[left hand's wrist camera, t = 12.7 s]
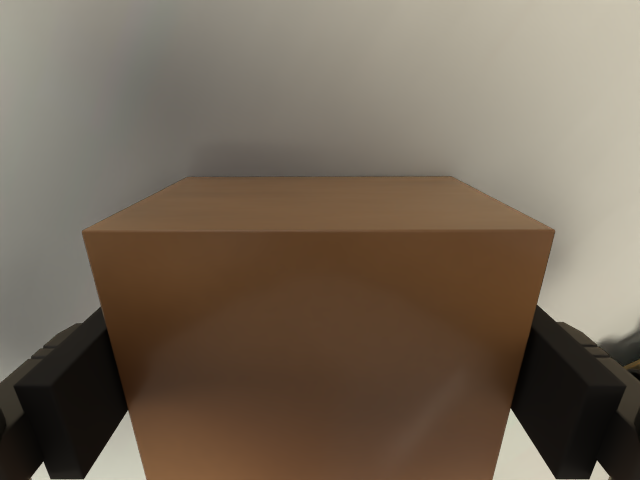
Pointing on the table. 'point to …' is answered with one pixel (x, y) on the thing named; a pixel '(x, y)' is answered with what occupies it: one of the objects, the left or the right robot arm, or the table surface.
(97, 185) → the table surface
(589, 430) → the left robot arm
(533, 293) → the slab
